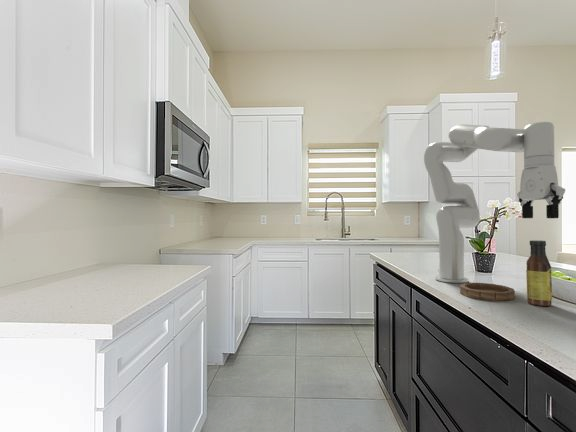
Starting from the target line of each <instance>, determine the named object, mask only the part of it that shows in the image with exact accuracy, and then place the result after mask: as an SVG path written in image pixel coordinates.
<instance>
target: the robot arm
mask: <svg viewBox="0 0 576 432" xmlns="http://www.w3.org/2000/svg"><path fill="white" fill-rule="evenodd" d="M448 140H449V141H450V142H449V141H437V142H433V143H430V144H428V146H427V147H426V149H425V151H424V154H423V162H424V166H425V169H426V171H427V173H428V174H427V175H428V176H429V179H430V183H431V187H432V190H433V195H434V198H435V201H436V202H437V203H438V204H440V205H445V206H442V207H441V208H439V209H438V210H437V212H436V215H435V216H436V217H435V218H436V223H437V229H438V230H437V231H438V269H437V272H438V275H435V277H434V278H435V279H434V280H435V281H439V282H442V283H443V282H444V283H451V284H463V283H469V278H468V277H466V276H465V238H464V235H463V232H462V231H461V229H471V228H475V227H476V226H478V225H479V224H480V223H479V222H480V219H481V214H480V210H479V205H478V203H477V200H476V196H475V193H474V191H473V188H472V187H471V186H470V185H469V184H467V183H464V182H455V181H454V179H453V177H452V173H451V171H450V170H449V168H448V166H446V165H445V164H444V163H461V162H463V161H465V160H466V159H468V158H469V157H470V156H471V155H472V154H474V153H475V152H476V151H478V150H486V151H493V152H503V153H504V152H505V153H523V169H522V171H521V177H520V186H519V192H517V198H518V202H519V203H520V206H521V217H522V219H533V218H534V206H533V203H534V201H536V200H537V201H539V200H545V202H546V203H547V204H546V213H545V215H546V219H558V218H559V217H560V213H559V210H560V209H559V208H560V207H559V205H561V203H562V201H563V199H564V195H565V193H566V189H565V188H564V187H562V186H560V185H559V179H558V174H557V173H558V172H557V167H556V165H555V125H554V124H553V123H552V121H551V122H550V121H539V122H534V123H531V124H530V123H529V124H528V125H526V126H525V127H524V128H522V129H521V128H511V127H509V128H508V127H507V128H506V127H490V126H489V125H480V124H458V125H455V126H453V127H452V128H451V129H450V130H449V132H448Z"/></svg>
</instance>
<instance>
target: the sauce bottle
mask: <svg viewBox="0 0 576 432" xmlns="http://www.w3.org/2000/svg"><path fill="white" fill-rule="evenodd" d="M529 246H530V256H529V257H528V258H527V260H526V264H525V265H526V270H525V274H526V298H527V303H529V304H530V305H534V306H538V307H549V306H551V305H552V301H553V285H552V280H553V279H552V266H551V265H552V264H551V263H550V261H549V259H548V256H547V253H546V246H547V242H546V240H538V239H537V240H536V239H535V240H534V239H533V240H529Z"/></svg>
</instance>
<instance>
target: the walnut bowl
mask: <svg viewBox="0 0 576 432" xmlns="http://www.w3.org/2000/svg"><path fill="white" fill-rule="evenodd" d="M459 286H460V287H459V292H460V293H459V294H461V295H462V296H465V297H468V298H471V299H475V300H482V301H493V302H509V301H513V300H515V297H516V290H515V289H514V288H513V287H510V286H507V285H501V284H495V283H490V282H489V283H486V282H466V283H459Z"/></svg>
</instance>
